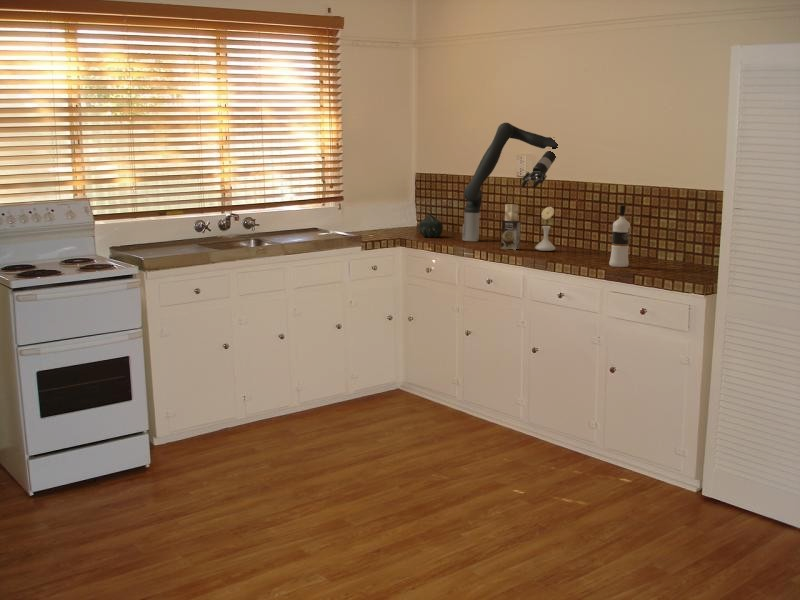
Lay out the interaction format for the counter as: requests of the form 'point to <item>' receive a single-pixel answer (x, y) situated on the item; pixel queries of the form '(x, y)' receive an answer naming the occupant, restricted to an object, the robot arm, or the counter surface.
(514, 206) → the maple block
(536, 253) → the counter surface
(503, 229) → the coffee box
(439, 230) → the squash
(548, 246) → the flower in vase
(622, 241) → the vodka
